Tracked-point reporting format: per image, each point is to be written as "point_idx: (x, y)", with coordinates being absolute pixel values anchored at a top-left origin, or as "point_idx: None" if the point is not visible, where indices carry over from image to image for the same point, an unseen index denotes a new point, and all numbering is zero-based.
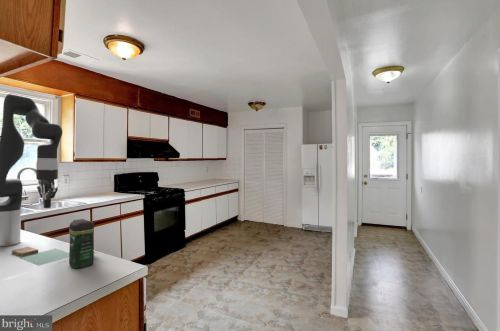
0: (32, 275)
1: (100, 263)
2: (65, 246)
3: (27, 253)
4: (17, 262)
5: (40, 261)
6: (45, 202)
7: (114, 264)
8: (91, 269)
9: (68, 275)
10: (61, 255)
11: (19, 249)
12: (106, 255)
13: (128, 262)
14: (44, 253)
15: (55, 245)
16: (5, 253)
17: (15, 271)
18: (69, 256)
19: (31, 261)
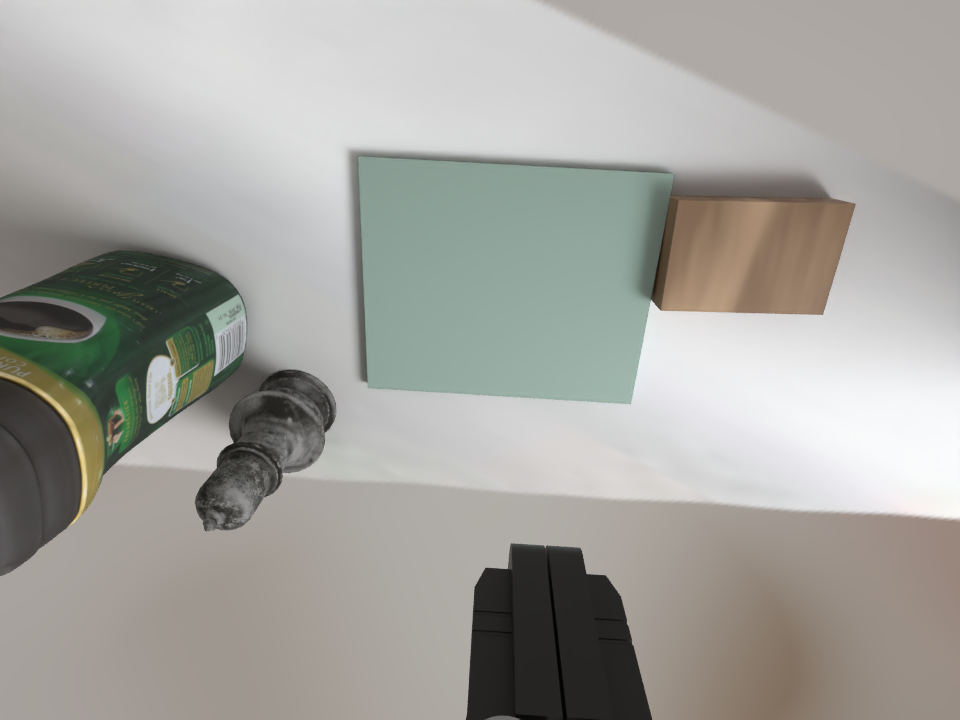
0: (220, 45)
1: None
2: (633, 465)
3: (669, 235)
4: (603, 129)
5: (436, 208)
6: (516, 650)
7: None
8: None
9: (39, 169)
10: (435, 341)
11: (812, 244)
12: None
13: None
14: (590, 313)
15: (723, 450)
16: (922, 190)
17: (409, 21)
18: (171, 282)
19: (494, 176)
